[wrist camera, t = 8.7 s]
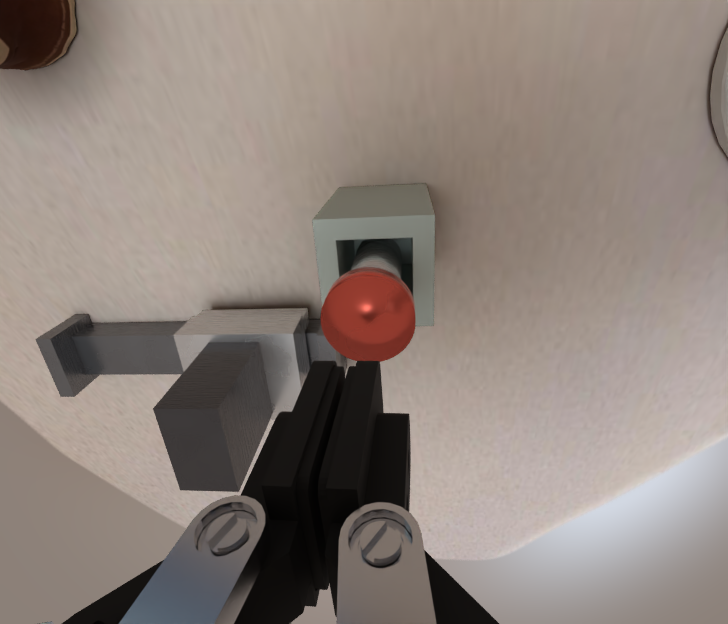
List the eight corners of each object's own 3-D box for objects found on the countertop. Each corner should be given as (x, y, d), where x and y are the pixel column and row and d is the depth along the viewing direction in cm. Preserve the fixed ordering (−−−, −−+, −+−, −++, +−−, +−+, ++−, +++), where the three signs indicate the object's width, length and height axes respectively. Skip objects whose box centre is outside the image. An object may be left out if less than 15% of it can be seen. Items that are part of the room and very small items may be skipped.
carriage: (307, 305, 27) (259, 399, 18) (317, 383, 30) (280, 499, 21) (201, 307, 28) (107, 399, 19) (220, 383, 30) (145, 496, 22)
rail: (341, 309, 28) (333, 335, 25) (346, 366, 30) (339, 397, 27) (75, 314, 30) (35, 339, 27) (95, 367, 32) (60, 396, 29)
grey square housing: (426, 183, 24) (434, 214, 17) (425, 269, 26) (433, 329, 19) (339, 187, 25) (312, 219, 18) (346, 272, 27) (324, 331, 20)
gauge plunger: (411, 222, 20) (415, 275, 14) (412, 286, 21) (415, 362, 15) (343, 225, 20) (315, 278, 14) (348, 288, 21) (325, 362, 15)
